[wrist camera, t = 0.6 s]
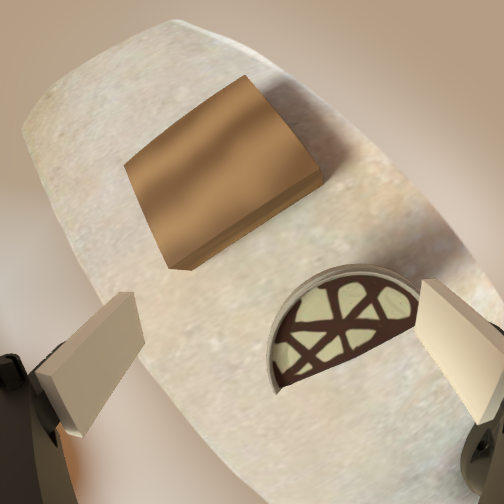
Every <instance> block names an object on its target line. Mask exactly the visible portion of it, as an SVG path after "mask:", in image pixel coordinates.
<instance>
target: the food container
mask: <svg viewBox="0 0 504 504" xmlns="http://www.w3.org/2000/svg"><path fill="white" fill-rule="evenodd" d="M420 292H421V291H420V290H419V289H418V288H417V287H416V286H415V285H414V284H413V283H411V282H410V281H409V280H408V279H406V278H405V277H403V276H401V275H400V274H398V273H396V272H394V271H391V270H389V269H387V268H383V267H379V266H375V265H369V264H349V265H342V266H338V267H334V268H330V269H328V270H325V271H323V272H321V273H318V274H316V275H315V276H313V277H311V278H310V279H308V280H306V281H305V282H304V283H303V284H301V285H300V286H299V287H298V288H297V289H295V290H294V291H293V292H292V294H291V295H290V296H289V297H288V298H287V299H286V301H285V302H284V303H283V305H282V307H281V308H280V310H279V311H278V313H277V315H276V318H275V320H274V322H273V324H272V327H271V331H270V335H269V339H268V345H267V354H266V361H267V372H268V377H269V381H270V384H271V387H272V389H273V392H274V393H275V395H277V394H278V392H279V391H280V390H281V389H282V388H283V387H285V386H288V385H291V384H293V383H295V382H297V381H300V380H302V379H305V378H307V377H310V376H312V375H315V374H317V373H320V372H322V371H324V370H327V369H329V368H332V367H334V366H337V365H339V364H341V363H344V362H346V361H349V360H351V359H353V358H356V357H358V356H359V355H361V354H363V353H365V352H367V351H369V350H371V349H373V348H375V347H377V346H378V345H380V344H382V343H384V342H386V341H388V340H390V339H392V338H393V337H395V336H397V335H399V334H401V333H403V332H405V331H406V330H408V329H410V328H412V327H414V326H415V324H416V318H417V312H418V306H419V299H420Z"/></svg>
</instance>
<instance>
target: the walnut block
mask: <svg viewBox="0 0 504 504" xmlns="http://www.w3.org/2000/svg"><path fill="white" fill-rule="evenodd" d="M124 167H125V170H126V172H127V175H128V177H129V180H130V182H131V185H132V187H133V190H134V192H135V194H136V197H137V199H138V202H139V204H140V206H141V209H142V211H143V213H144V216H145V218H146V220H147V222H148V225H149V227H150V229H151V231H152V234H153V236H154V238H155V240H156V243H157V245H158V247H159V249H160V251H161V253H162V256H163V258H164V260H165V262H166V264H167V266H168V268H169V269H178V270H191V271H192V270H193V269H195V268H196V267H198V266H199V265H201V264H202V263H204V262H205V261H207V260H208V259H210V258H211V257H213V256H214V255H216V254H217V253H219V252H220V251H222V250H223V249H225V248H226V247H228V246H230V245H231V244H233V243H234V242H236V241H237V240H239V239H240V238H242V237H243V236H245V235H246V234H248V233H249V232H251V231H252V230H254V229H255V228H257V227H258V226H260V225H262V224H263V223H265V222H266V221H268V220H269V219H271V218H272V217H274V216H275V215H277V214H278V213H280V212H282V211H283V210H285V209H286V208H288V207H289V206H291V205H292V204H294V203H295V202H297V201H299V200H300V199H302V198H303V197H305V196H306V195H308V194H309V193H311V192H313V191H314V190H316V189H317V188H319V187H320V186H322V185H324V184H323V180H322V175H321V171H320V168H319V166H318V165H317V163H316V162H315V161H314V159H313V158H312V157H311V155H310V154H309V153H308V151H307V150H306V149H305V147H304V146H303V145H302V143H301V142H300V141H299V139H298V138H297V137H296V136H295V134H294V133H293V132H292V130H291V129H290V128H289V127H288V125H287V124H286V123H285V122H284V120H283V119H282V118H281V117H280V115H279V114H278V113H277V112H276V111H275V109H274V108H273V107H272V106H271V105H270V103H269V102H268V101H267V100H266V99H265V97H264V96H263V95H262V94H261V93H260V91H259V90H258V89H257V88H256V87H255V86H254V85H253V83H252V82H251V81H250V80H249V79H248V78H247V77H246V75H244V76H242V77H240V78H239V79H237V80H236V81H234V82H233V83H231V84H230V85H228V86H226V87H225V88H223V89H222V90H220V91H219V92H217V93H216V94H214V95H213V96H211V97H210V98H209V99H207V100H206V101H204V102H203V103H201V104H200V105H199V106H197V107H196V108H194V109H193V110H192V111H190V112H189V113H188V114H186V115H185V116H183V117H182V118H181V119H179V120H178V121H177V122H175V123H174V124H173V125H172V126H170V127H169V128H168V129H166V130H165V131H164V132H163V133H161V134H160V135H159V136H158V137H156V138H155V139H154V140H153V141H151V142H150V143H149V144H148V145H147V146H145V147H144V148H143V149H142V150H141V151H139V152H138V153H137V154H136V155H135V156H133V157H132V158H131V159H130V160H129V161H128V162H127V163H125V164H124Z"/></svg>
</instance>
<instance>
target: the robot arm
mask: <svg viewBox="0 0 504 504" xmlns="http://www.w3.org/2000/svg"><path fill="white" fill-rule="evenodd" d="M414 333H415V335H416V336H417V337H418V339H419V340H420V341H421V343H422V344H423V345H424V347H425V348H426V350H427V351H428V352H429V354H430V355H431V357H432V358H433V359H434V361H435V362H436V364H437V365H438V366H439V368H440V369H441V371H442V372H443V374H444V375H445V376H446V378H447V379H448V381H449V382H450V384H451V385H452V387H453V388H454V390H455V391H456V393H457V394H458V396H459V397H460V399H461V400H462V402H463V403H464V405H465V406H466V408H467V410H468V411H469V413H470V414H471V416H472V417H473V419H474V421H475V422H476V423H475V424H474V426H473V428H472V429H471V431H470V433H469V435H468V437H467V439H466V442H465V444H464V447H463V451H462V455H461V464H460V466H461V472H462V475H463V477H464V479H465V481H466V483H467V485H468V487H469V488H470V489H471V490H472V491H473V492H474V493H476V494H478V495H479V496H481V497H480V500H479V503H478V504H504V331H503V330H502V329H501V328H500V327H498V326H496V325H494V324H492V323H490V322H488V321H487V320H486V319H484V318H483V317H482V316H481V315H480V314H479V313H478V312H476V311H475V310H474V309H473V308H472V307H470V306H469V305H468V304H467V303H466V302H465V301H463V300H462V299H461V298H460V297H458V296H457V295H456V294H455V293H454V292H452V291H451V290H450V289H449V288H447V287H446V286H445V285H444V284H442V283H441V282H440V281H439V280H437V279H436V278H433V279H422V284H421V292H420V299H419V306H418V312H417V318H416V324H415V329H414ZM144 344H145V340H144V336H143V332H142V328H141V324H140V319H139V315H138V311H137V306H136V302H135V297H134V292H119V293H118V294H117V295H116V296H115V297H113V298H112V299H111V300H110V301H109V302H108V303H107V304H106V305H104V306H103V307H102V308H101V309H100V310H99V311H98V312H97V313H96V314H95V315H94V316H92V317H91V318H90V319H89V320H88V321H87V322H86V323H85V324H84V325H83V326H82V327H80V328H79V329H78V330H77V331H76V332H75V333H74V334H73V335H72V336H71V337H70V338H69V339H68V340H67V341H65V342H63V343H61V344H60V345H58V346H57V347H56V348H55V349H54V350H53V351H52V353H50V354H49V355H48V356H47V357H46V359H44V360H43V361H41V362H40V363H39V365H37V366H36V367H35V368H34V369H33V370H32V371H31V372H30V373H29V374H28V375H27V373H26V371H25V368H24V366H23V364H22V361H21V359H20V357H19V356H18V355H17V354H12V353H11V354H5V355H2V356H0V504H78V502H77V499H76V496H75V493H74V490H73V487H72V483H71V480H70V476H69V473H68V469H67V465H66V461H65V457H64V453H63V449H62V444H61V439H60V435H59V433H58V431H57V429H56V426H57V425H58V424H59V422H61V424H62V426H63V427H64V429H65V431H66V432H67V433H68V434H72V435H75V436H78V437H82V438H84V436H85V434H86V433H87V431H88V430H89V428H90V427H91V425H92V423H93V422H94V420H95V419H96V417H97V416H98V414H99V412H100V411H101V409H102V408H103V406H104V405H105V403H106V401H107V400H108V398H109V397H110V395H111V394H112V392H113V391H114V389H115V388H116V386H117V385H118V383H119V382H120V380H121V379H122V377H123V376H124V374H125V372H126V371H127V370H128V368H129V367H130V365H131V364H132V362H133V361H134V359H135V358H136V356H137V355H138V353H139V352H140V350H141V349H142V347H143V346H144Z"/></svg>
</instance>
